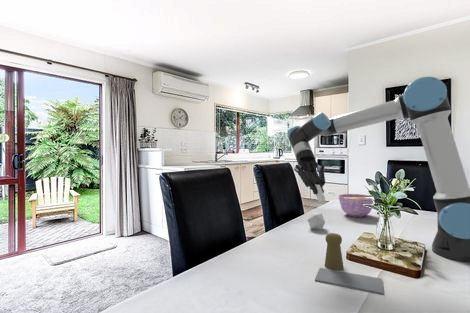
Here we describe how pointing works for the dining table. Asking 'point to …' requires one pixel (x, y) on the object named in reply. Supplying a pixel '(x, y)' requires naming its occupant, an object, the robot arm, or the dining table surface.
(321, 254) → the dining table surface
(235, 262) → the dining table surface
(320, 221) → the die
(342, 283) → the mat
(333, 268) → the olive waisted cylinder
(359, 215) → the purple ceramic bowl
